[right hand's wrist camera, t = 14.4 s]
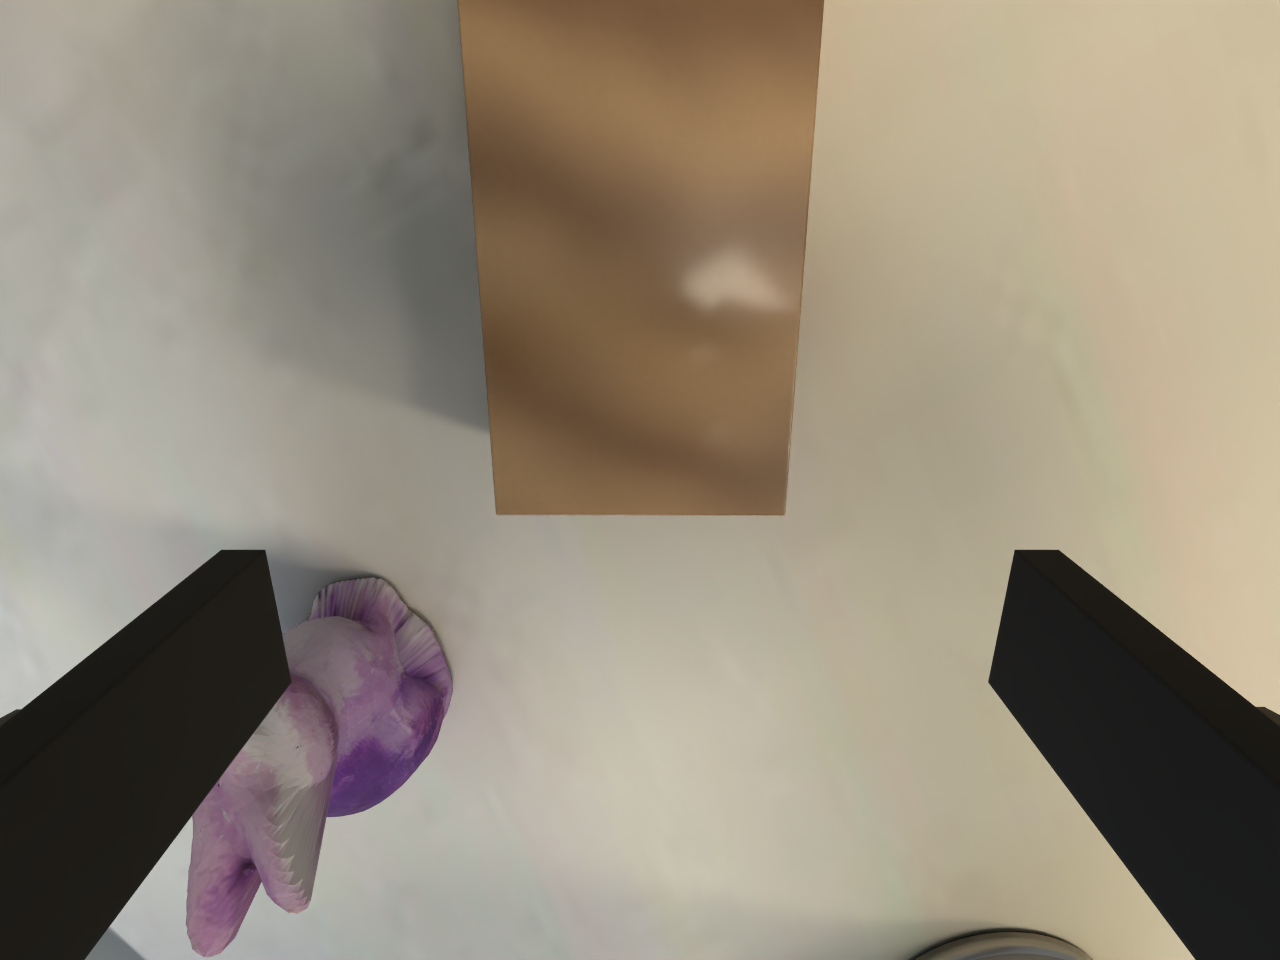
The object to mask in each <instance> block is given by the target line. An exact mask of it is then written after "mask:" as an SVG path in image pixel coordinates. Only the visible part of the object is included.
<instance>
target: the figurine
mask: <svg viewBox="0 0 1280 960" xmlns="http://www.w3.org/2000/svg"><path fill="white" fill-rule="evenodd" d="M282 636H283V641H284V646H285V651H286V656H287V661H288V666H289V671H290V676H291V681H292V683H291V684H290V685H289V687H288V688H287V689H286V691H285V692H284V693H283V695H282V696H281V697H280V699H279V700H278V701H277V703H276V704H275V705H274V707H273V708H272V709H271V711H270V712H269V713H268V715H267V716H266V717H265V719H264V720H263V721H262V723H261V724H260V725H259V727H258V728H257V729H256V731H255V732H254V733H253V735H252V736H251V737H250V739H249V740H248V741H247V743H246V744H245V745H244V747H243V748H242V749H241V751H240V752H239V753H238V755H237V756H236V757H235V759H234V760H233V761H232V763H231V764H230V765H229V767H228V768H227V770H226V771H225V772H224V774H223V775H222V776H221V778H220V779H219V780H218V782H217V783H216V784H215V786H214V787H213V788H212V790H211V791H210V792H209V794H208V795H207V796H206V798H205V799H204V800H203V802H202V803H201V804H200V806H199V807H198V808H197V810H196V811H195V812H194V814H193V815H192V817H193V841H192V851H191V863H190V867H189V879H188V890H187V892H188V896H187V918H186V926H187V928H188V929H187V935H188V937H189V939H190V941H191V946H192V949H193V950H194V951H195V952H197V953H198V954H200V955H201V956H203V957H209V956H214V955H216V954H219V953H221V952H222V951H223V950H224V949H225V948H226V946H227V945H228V944H229V943H230V942H231V941H232V940H233V939H234V938H235V936H236V934H237V932H238V930H239V928H240V926H241V924H242V921H243V919H244V917H245V915H246V913H247V911H248V909H249V907H250V905H251V903H252V901H253V899H254V896H255V894H256V892H257V890H258V888H259V886H260V884H261V882H262V883H263V885H264V888H265V890H266V893H267V895H268V896H269V897H270V898H271V899H272V900H273V901H274V903H276V904H277V905H278V906H280V907H281V908H283V909H284V910H286V911H287V912H289V913H299V912H301V911H303V910H304V909H306V908H307V907H308V905H309V903H310V901H311V896H312V891H313V886H314V880H315V875H316V870H317V864H318V859H319V854H320V849H321V843H322V838H323V833H324V827H325V822H326V817H338V816H346V815H351V814H355V813H359V812H362V811H365V810H367V809H369V808H371V807H373V806H375V805H377V804H379V803H380V802H382V801H383V800H384V799H386V798H387V797H389V796H390V795H391V794H392V793H394V792H395V791H396V790H397V789H398V788H400V787H401V786H402V785H403V784H404V783H405V782H406V781H407V780H408V779H409V777H410V776H411V775H412V774H413V773H414V772H415V771H416V769H417V768H418V767H419V765H420V764H421V763H422V762H423V761H424V760H425V758H426V757H427V756H428V755H429V753H430V751H431V750H432V748H433V746H434V744H435V742H436V740H437V738H438V735H439V732H440V728H441V724H442V721H443V719H444V717H445V715H446V713H447V710H448V707H449V705H450V700H451V696H452V691H453V687H452V678H451V674H450V671H449V669H448V666H447V663H446V660H445V658H444V655H443V652H442V649H441V646H440V644H439V642H438V640H437V638H436V637H435V635H434V633H433V631H432V629H431V626H429V625H428V624H426V623H425V622H424V621H423V620H422V619H421V618H420V617H419V616H417V615H416V614H415V613H413V612H412V611H411V610H409V609H408V608H407V606H406V605H405V604H404V603H403V602H402V601H401V599H400V597H399V596H398V595H397V593H396V591H395V590H394V589H393V588H392V587H391V586H390V585H389V584H388V583H387V582H386V581H385V580H383V579H376V578H374V577H372V578H366V579H364V578H362V579H361V580H360V579H357V580H353V579H352V580H351V581H349V580H347V581H341V582H338V581H337V582H336V583H333V584H330V585H329V586H325V587H324V588H323V589H322V590H321V591H320V592H319V593H318V594H317V595H316V597H315V600H314V602H313V605H312V611H311V616H309V617H308V618H307V619H306V620H303V622H302V623H301V624H299V625H297V626H295V627H293V628H292V629H290V630H288V631H287V632H285V633H284V634H283V635H282Z"/></svg>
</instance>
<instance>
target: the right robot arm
mask: <svg viewBox="0 0 1280 960" xmlns="http://www.w3.org/2000/svg"><path fill="white" fill-rule="evenodd" d="M291 683H292V681H291V676H290V671H289V666H288V661H287V656H286V651H285V646H284V641H283V636H282V631H281V626H280V621H279V616H278V611H277V606H276V601H275V596H274V591H273V586H272V581H271V576H270V571H269V566H268V561H267V556H266V551H265V550H221V551H219V552H218V553H217V554H216V555H214V556H213V557H212V558H211V559H209V560H208V561H207V562H206V563H204V564H203V565H202V566H201V567H199V568H198V569H197V570H196V571H194V572H193V573H192V574H191V575H189V576H188V577H187V578H186V579H184V580H183V581H182V582H181V583H179V584H178V585H177V586H176V587H174V588H173V589H172V590H171V591H169V592H168V593H167V594H166V595H164V596H163V597H162V598H160V599H159V600H158V601H157V602H155V603H154V604H153V605H152V606H150V607H149V608H148V609H147V610H145V611H144V612H143V613H142V614H140V615H139V616H138V617H137V618H135V619H134V620H133V621H132V622H130V623H129V624H128V625H127V626H125V627H124V628H123V629H122V630H120V631H119V632H118V633H117V634H115V635H114V636H113V637H112V638H110V639H109V640H108V641H107V642H105V643H104V644H103V645H102V646H100V647H99V648H98V649H97V650H95V651H94V652H93V653H92V654H90V655H89V656H88V657H87V658H85V659H84V660H83V661H82V662H80V663H79V664H78V665H76V666H75V667H74V668H73V669H71V670H70V671H69V672H68V673H66V674H65V675H64V676H63V677H61V678H60V679H59V680H58V681H56V682H55V683H54V684H53V685H51V686H50V687H49V688H48V689H46V690H45V691H44V692H43V693H41V694H40V695H39V696H38V697H36V698H35V699H34V700H33V701H31V702H30V703H29V704H28V705H26V706H25V707H24V708H23V709H21V710H15V711H13V712H11V713H9V714H7V715H5V716H3V717H2V718H0V960H85V958H86V957H87V956H88V954H89V953H90V952H91V950H92V949H93V948H94V946H95V945H96V943H97V942H98V941H99V939H100V938H101V937H102V935H103V934H104V933H105V931H106V930H107V929H108V927H109V926H110V925H111V923H112V922H113V921H114V919H115V918H116V917H117V915H118V914H119V913H120V911H121V910H122V909H123V907H124V906H125V905H126V903H127V902H128V901H129V899H130V898H131V897H132V895H133V894H134V893H135V891H136V890H137V889H138V887H139V886H140V885H141V883H142V882H143V881H144V879H145V878H146V877H147V875H148V874H149V873H150V871H151V870H152V869H153V867H154V866H155V865H156V863H157V862H158V861H159V859H160V858H161V857H162V855H163V854H164V852H165V851H166V850H167V848H168V847H169V846H170V844H171V843H172V842H173V840H174V839H175V838H176V836H177V835H178V834H179V832H180V831H181V830H182V828H183V827H184V826H185V824H186V823H187V822H188V820H189V819H190V818H191V816H192V815H193V814H194V812H195V811H196V810H197V808H198V807H199V806H200V804H201V803H202V802H203V800H204V799H205V798H206V796H207V795H208V794H209V792H210V791H211V790H212V788H213V787H214V786H215V784H216V783H217V782H218V780H219V779H220V778H221V776H222V775H223V774H224V772H225V771H226V770H227V768H228V767H229V765H230V764H231V763H232V761H233V760H234V759H235V757H236V756H237V755H238V753H239V752H240V751H241V749H242V748H243V747H244V745H245V744H246V743H247V741H248V740H249V739H250V737H251V736H252V735H253V733H254V732H255V731H256V729H257V728H258V727H259V725H260V724H261V723H262V721H263V720H264V719H265V717H266V716H267V715H268V713H269V712H270V711H271V709H272V708H273V707H274V705H275V704H276V703H277V701H278V700H279V699H280V697H281V696H282V695H283V693H284V692H285V691H286V689H287V688H288V687H289V685H290V684H291ZM988 683H989V684H990V685H991V687H992V688H993V689H994V691H995V692H996V693H997V695H998V696H999V697H1000V699H1001V700H1002V701H1003V703H1004V704H1005V705H1006V707H1007V708H1008V709H1009V711H1010V712H1011V713H1012V715H1013V716H1014V717H1015V719H1016V720H1017V721H1018V723H1019V724H1020V725H1021V727H1022V728H1023V729H1024V731H1025V732H1026V733H1027V735H1028V736H1029V737H1030V739H1031V740H1032V741H1033V743H1034V744H1035V745H1036V747H1037V748H1038V749H1039V751H1040V752H1041V753H1042V755H1043V756H1044V757H1045V759H1046V760H1047V761H1048V763H1049V764H1050V765H1051V767H1052V768H1053V770H1054V771H1055V772H1056V774H1057V775H1058V776H1059V778H1060V779H1061V780H1062V782H1063V783H1064V784H1065V786H1066V787H1067V788H1068V790H1069V791H1070V792H1071V794H1072V795H1073V796H1074V798H1075V799H1076V800H1077V802H1078V803H1079V804H1080V806H1081V807H1082V808H1083V810H1084V811H1085V812H1086V814H1087V815H1088V816H1089V818H1090V819H1091V820H1092V822H1093V823H1094V824H1095V826H1096V827H1097V828H1098V830H1099V831H1100V832H1101V834H1102V835H1103V836H1104V838H1105V839H1106V840H1107V842H1108V843H1109V844H1110V846H1111V847H1112V848H1113V850H1114V851H1115V852H1116V854H1117V855H1118V857H1119V858H1120V859H1121V861H1122V862H1123V863H1124V865H1125V866H1126V867H1127V869H1128V870H1129V871H1130V873H1131V874H1132V875H1133V877H1134V878H1135V879H1136V881H1137V882H1138V883H1139V885H1140V886H1141V887H1142V889H1143V890H1144V891H1145V893H1146V894H1147V895H1148V897H1149V898H1150V899H1151V901H1152V902H1153V903H1154V905H1155V906H1156V907H1157V909H1158V910H1159V911H1160V913H1161V914H1162V915H1163V917H1164V918H1165V919H1166V921H1167V922H1168V923H1169V925H1170V926H1171V927H1172V929H1173V930H1174V931H1175V933H1176V934H1177V935H1178V937H1179V938H1180V939H1181V941H1182V942H1183V943H1184V945H1185V946H1186V948H1187V949H1188V950H1189V952H1190V953H1191V954H1192V956H1193V957H1194V958H1195V960H1280V715H1279V714H1277V713H1275V712H1273V711H1271V710H1269V709H1267V708H1265V707H1255V706H1254V705H1252V704H1251V703H1250V702H1249V701H1247V700H1246V699H1245V698H1244V697H1242V696H1241V695H1240V694H1239V693H1237V692H1236V691H1235V690H1234V689H1232V688H1231V687H1230V686H1229V685H1227V684H1226V683H1225V682H1224V681H1222V680H1221V679H1220V678H1219V677H1217V676H1216V675H1215V674H1214V673H1212V672H1211V671H1210V670H1209V669H1207V668H1206V667H1205V666H1204V665H1202V664H1201V663H1200V662H1198V661H1197V660H1196V659H1195V658H1193V657H1192V656H1191V655H1190V654H1188V653H1187V652H1186V651H1185V650H1183V649H1182V648H1181V647H1180V646H1178V645H1177V644H1176V643H1175V642H1173V641H1172V640H1171V639H1170V638H1168V637H1167V636H1166V635H1165V634H1163V633H1162V632H1161V631H1160V630H1158V629H1157V628H1156V627H1155V626H1153V625H1152V624H1151V623H1150V622H1148V621H1147V620H1146V619H1145V618H1143V617H1142V616H1141V615H1140V614H1138V613H1137V612H1136V611H1135V610H1133V609H1132V608H1131V607H1130V606H1128V605H1127V604H1126V603H1125V602H1123V601H1122V600H1121V599H1119V598H1118V597H1117V596H1116V595H1114V594H1113V593H1112V592H1111V591H1109V590H1108V589H1107V588H1106V587H1104V586H1103V585H1102V584H1101V583H1099V582H1098V581H1097V580H1096V579H1094V578H1093V577H1092V576H1091V575H1089V574H1088V573H1087V572H1086V571H1084V570H1083V569H1082V568H1081V567H1079V566H1078V565H1077V564H1076V563H1074V562H1073V561H1072V560H1071V559H1069V558H1068V557H1067V556H1066V555H1064V554H1063V553H1062V552H1061V551H1059V550H1015V551H1014V556H1013V561H1012V566H1011V571H1010V576H1009V581H1008V586H1007V591H1006V596H1005V601H1004V606H1003V611H1002V616H1001V621H1000V626H999V631H998V636H997V641H996V646H995V651H994V656H993V661H992V666H991V671H990V676H989V681H988ZM915 960H1092V959H1091V958H1090V957H1089V956H1088V955H1086V954H1085V953H1084V952H1082V951H1081V950H1079V949H1078V948H1076V947H1074V946H1072V945H1070V944H1068V943H1066V942H1063V941H1061V940H1058V939H1055V938H1052V937H1048V936H1043V935H1039V934H1032V933H1022V932H998V933H988V934H981V935H975V936H970V937H966V938H962V939H959V940H956V941H953V942H950V943H947V944H944V945H942V946H939V947H937V948H935V949H933V950H931V951H929V952H927V953H925V954H923V955H921V956H920V957H918V958H917V959H915Z"/></svg>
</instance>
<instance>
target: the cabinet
mask: <svg viewBox="0 0 1280 960" xmlns="http://www.w3.org/2000/svg"><path fill="white" fill-rule="evenodd" d="M823 9H824V0H458V12H459V26H460V39H461V53H462V66H463V79H464V93H465V106H466V119H467V133H468V146H469V159H470V173H471V186H472V199H473V213H474V226H475V239H476V253H477V266H478V280H479V293H480V306H481V320H482V333H483V346H484V360H485V373H486V386H487V400H488V413H489V426H490V440H491V453H492V466H493V480H494V493H495V507H496V514H497V515H785V509H786V495H787V482H788V469H789V456H790V443H791V430H792V416H793V403H794V390H795V377H796V364H797V351H798V338H799V324H800V311H801V298H802V285H803V272H804V259H805V245H806V232H807V219H808V206H809V193H810V180H811V167H812V153H813V140H814V127H815V114H816V101H817V88H818V74H819V61H820V48H821V35H822V22H823Z"/></svg>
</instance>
